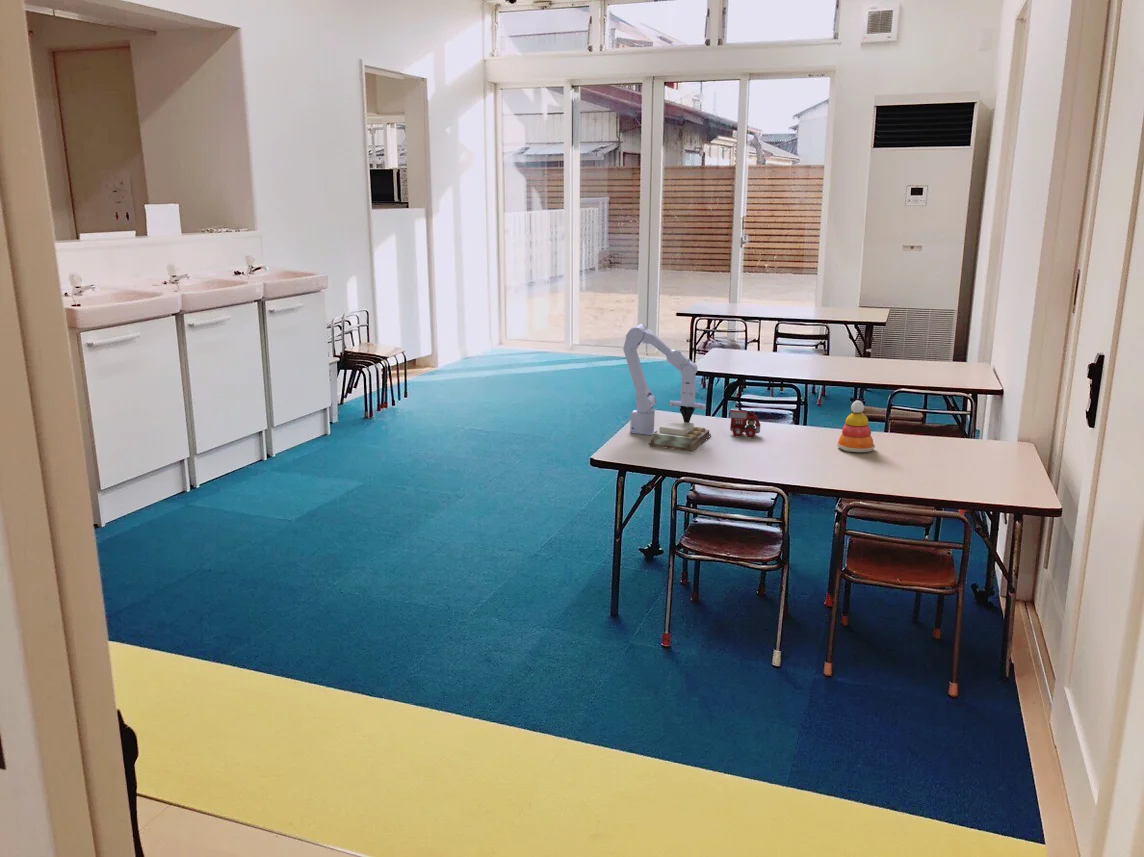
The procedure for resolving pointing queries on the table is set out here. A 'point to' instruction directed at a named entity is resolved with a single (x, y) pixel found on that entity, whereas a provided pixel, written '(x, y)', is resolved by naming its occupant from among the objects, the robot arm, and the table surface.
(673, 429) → the stone slab
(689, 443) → the brown-green flat block
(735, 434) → the toy fire truck
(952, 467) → the table surface
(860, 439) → the stacking toy
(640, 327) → the robot arm
